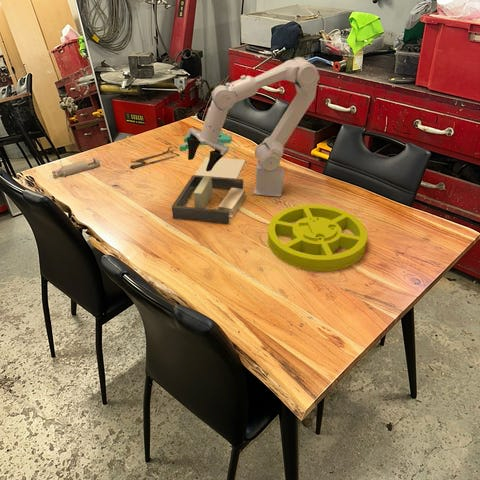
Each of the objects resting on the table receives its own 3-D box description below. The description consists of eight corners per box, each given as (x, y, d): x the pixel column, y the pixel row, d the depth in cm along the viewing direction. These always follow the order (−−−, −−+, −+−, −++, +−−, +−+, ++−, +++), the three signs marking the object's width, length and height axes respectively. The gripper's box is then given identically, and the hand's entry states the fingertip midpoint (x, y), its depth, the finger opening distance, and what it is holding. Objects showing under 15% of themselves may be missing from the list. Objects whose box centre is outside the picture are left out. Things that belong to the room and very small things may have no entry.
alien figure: (227, 153, 178) (233, 134, 194) (227, 147, 176) (233, 129, 193) (180, 151, 180) (189, 133, 196) (179, 146, 178) (188, 128, 195)
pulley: (363, 220, 134) (366, 206, 131) (366, 277, 112) (369, 262, 109) (274, 212, 139) (275, 198, 136) (260, 265, 117) (260, 250, 114)
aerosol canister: (97, 163, 171) (94, 148, 168) (102, 167, 168) (99, 151, 165) (52, 176, 163) (47, 160, 159) (56, 181, 160) (51, 164, 156)
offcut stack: (246, 195, 148) (246, 186, 146) (232, 220, 136) (232, 210, 134) (231, 193, 150) (231, 184, 148) (216, 217, 137) (215, 208, 135)
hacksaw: (131, 170, 166) (130, 167, 165) (121, 161, 173) (120, 157, 172) (186, 154, 177) (186, 151, 176) (174, 146, 184) (174, 143, 183)
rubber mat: (245, 160, 170) (245, 159, 170) (234, 184, 154) (234, 183, 154) (206, 157, 173) (206, 156, 173) (191, 181, 157) (191, 179, 157)
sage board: (212, 194, 149) (211, 176, 145) (202, 212, 139) (201, 193, 135) (205, 193, 149) (204, 175, 145) (195, 211, 140) (193, 192, 136)
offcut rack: (243, 189, 151) (243, 179, 149) (228, 224, 133) (227, 212, 131) (193, 185, 155) (192, 174, 152) (172, 218, 137) (171, 207, 135)
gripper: (187, 115, 132) (174, 155, 139) (224, 137, 128) (209, 177, 134) (200, 115, 138) (188, 153, 144) (236, 135, 133) (221, 174, 140)
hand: (199, 164), depth 140 cm, fingers open, 7 cm apart
